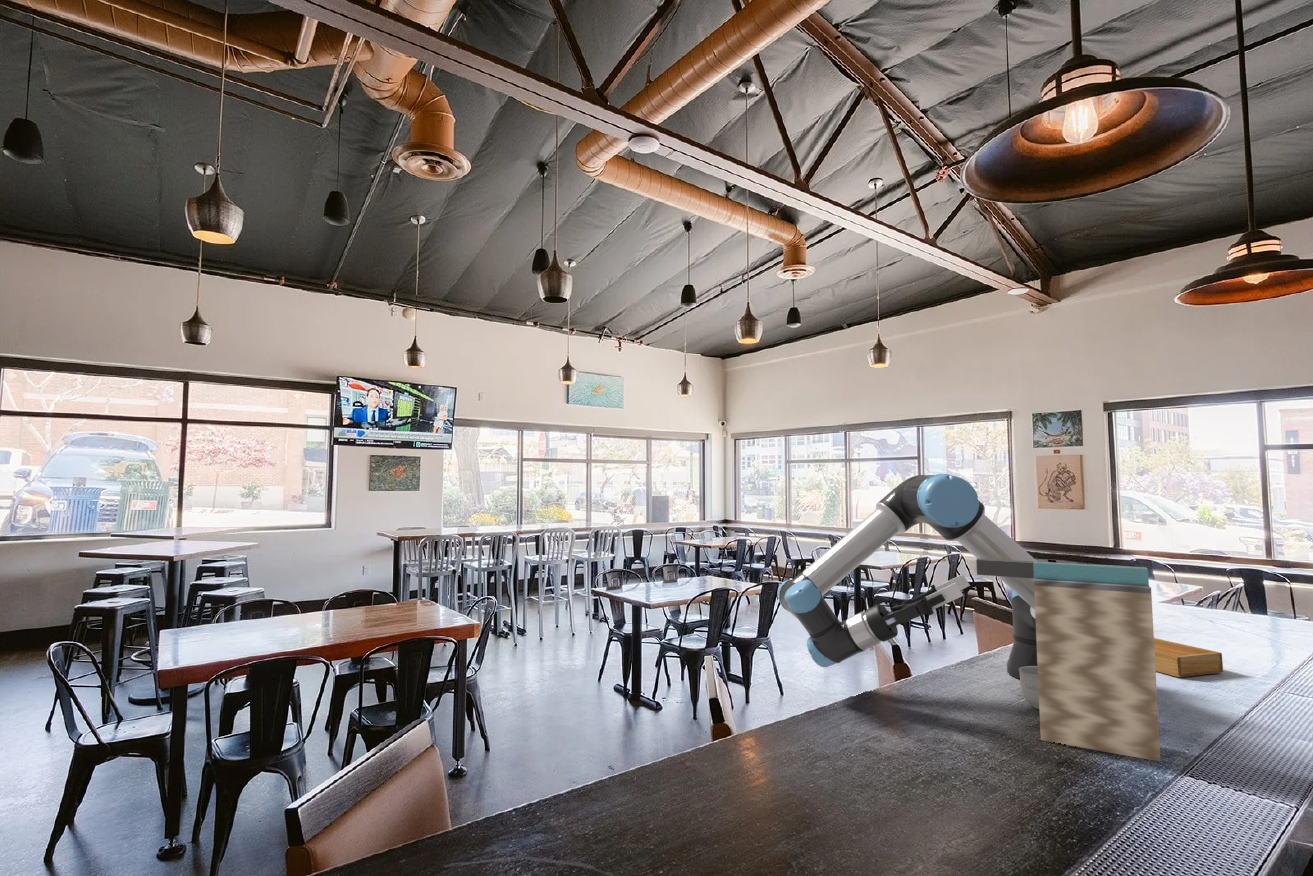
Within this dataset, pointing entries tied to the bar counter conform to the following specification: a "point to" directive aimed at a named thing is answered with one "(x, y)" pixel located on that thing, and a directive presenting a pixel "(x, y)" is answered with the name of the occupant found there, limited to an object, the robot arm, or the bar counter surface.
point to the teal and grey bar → (1064, 571)
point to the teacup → (1030, 684)
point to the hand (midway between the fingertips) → (963, 584)
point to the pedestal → (1097, 666)
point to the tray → (1185, 659)
